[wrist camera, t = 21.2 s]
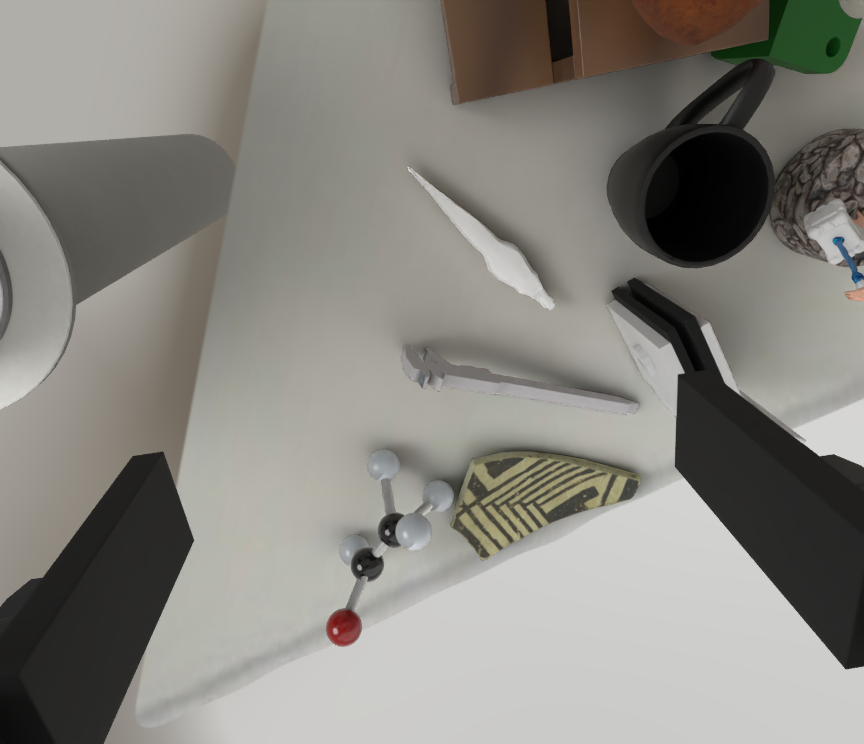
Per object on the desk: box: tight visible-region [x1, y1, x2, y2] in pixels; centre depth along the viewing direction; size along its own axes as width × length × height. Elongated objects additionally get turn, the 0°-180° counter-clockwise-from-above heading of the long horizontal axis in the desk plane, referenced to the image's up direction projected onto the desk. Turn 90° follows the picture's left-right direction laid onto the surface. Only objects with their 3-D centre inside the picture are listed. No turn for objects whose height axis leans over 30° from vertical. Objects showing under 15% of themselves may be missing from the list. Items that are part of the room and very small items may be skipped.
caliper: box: [401, 344, 640, 415], centre depth 47 cm, size 20×1×6 cm, turn 74°
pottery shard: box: [450, 451, 641, 560], centre depth 53 cm, size 11×16×2 cm, turn 84°
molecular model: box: [326, 449, 454, 647], centre depth 49 cm, size 8×12×11 cm
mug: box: [607, 58, 775, 268], centre depth 39 cm, size 8×12×10 cm
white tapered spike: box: [407, 166, 556, 310], centre depth 44 cm, size 15×3×2 cm, turn 47°
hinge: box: [607, 278, 806, 444], centre depth 45 cm, size 14×5×10 cm, turn 44°
